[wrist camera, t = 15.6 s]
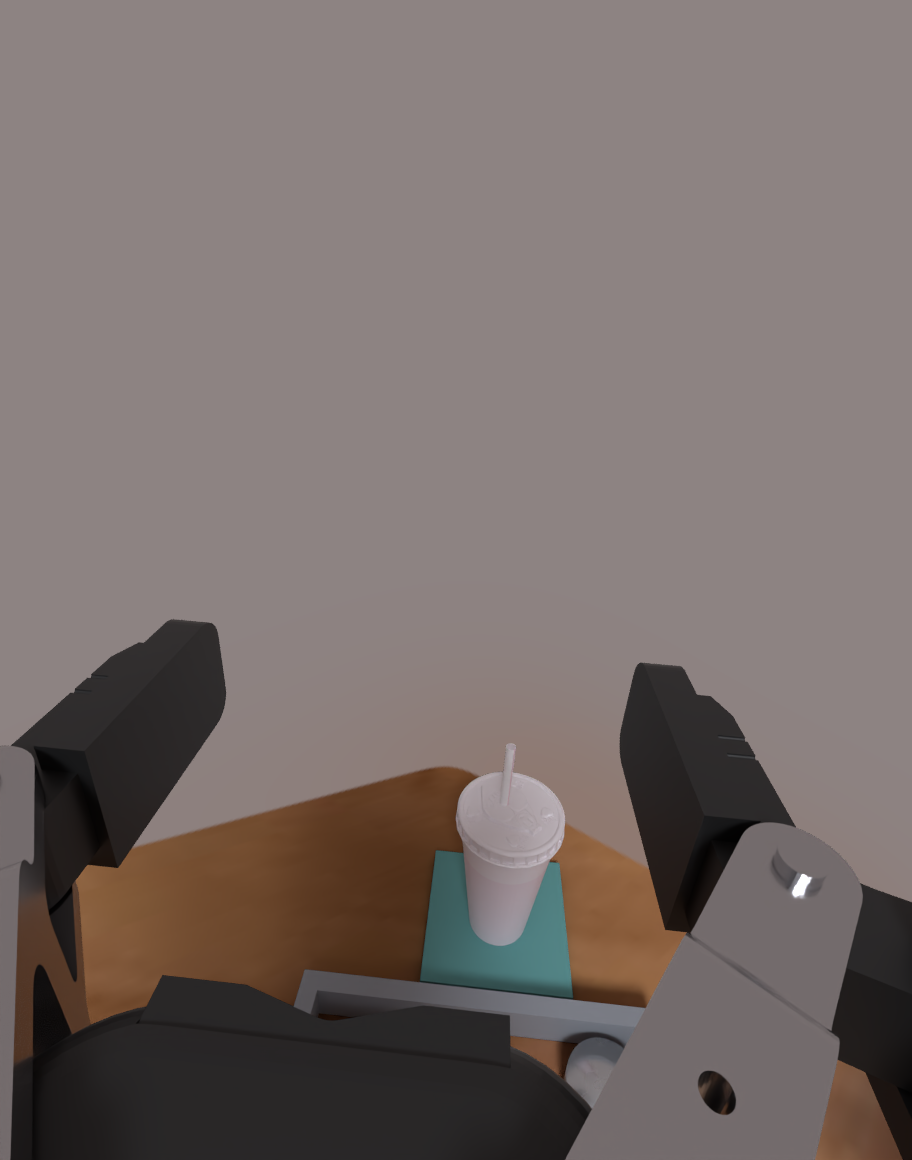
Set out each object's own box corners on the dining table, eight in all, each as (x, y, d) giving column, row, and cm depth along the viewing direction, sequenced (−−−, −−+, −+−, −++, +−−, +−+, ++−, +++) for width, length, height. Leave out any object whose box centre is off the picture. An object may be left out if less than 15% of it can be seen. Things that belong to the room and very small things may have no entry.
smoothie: (494, 857, 42) (513, 701, 36) (566, 921, 37) (600, 757, 31) (428, 913, 37) (436, 747, 31) (500, 992, 33) (525, 818, 27)
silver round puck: (565, 1150, 28) (571, 1131, 27) (557, 1054, 31) (562, 1033, 31) (648, 1159, 28) (656, 1139, 27) (630, 1061, 31) (637, 1041, 30)
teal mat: (419, 986, 34) (419, 980, 34) (435, 855, 42) (435, 850, 42) (571, 1003, 34) (573, 997, 33) (558, 868, 42) (559, 863, 41)
